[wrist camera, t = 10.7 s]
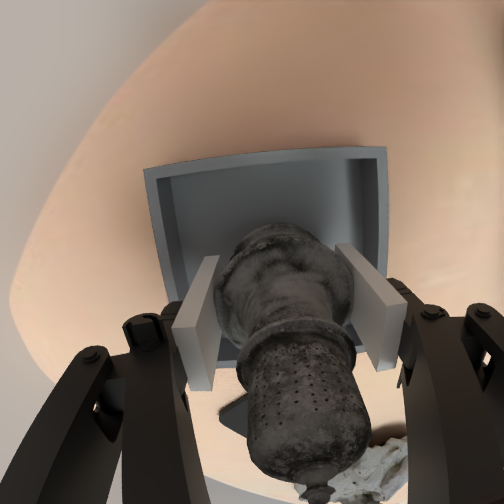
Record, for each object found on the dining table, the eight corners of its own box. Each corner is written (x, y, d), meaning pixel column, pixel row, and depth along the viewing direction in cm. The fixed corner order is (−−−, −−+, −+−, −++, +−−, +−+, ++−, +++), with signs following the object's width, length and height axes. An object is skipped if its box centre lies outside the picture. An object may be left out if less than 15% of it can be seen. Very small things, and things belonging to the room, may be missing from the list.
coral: (350, 492, 30) (361, 543, 20) (277, 483, 28) (280, 547, 18) (440, 429, 25) (468, 485, 16) (377, 412, 23) (408, 493, 13)
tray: (161, 166, 16) (143, 169, 13) (365, 147, 16) (386, 146, 13) (195, 342, 20) (187, 369, 17) (363, 325, 19) (377, 349, 17)
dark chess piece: (208, 233, 14) (95, 447, 3) (324, 204, 14) (505, 360, 2) (239, 330, 16) (223, 543, 5) (340, 307, 16) (429, 502, 4)
